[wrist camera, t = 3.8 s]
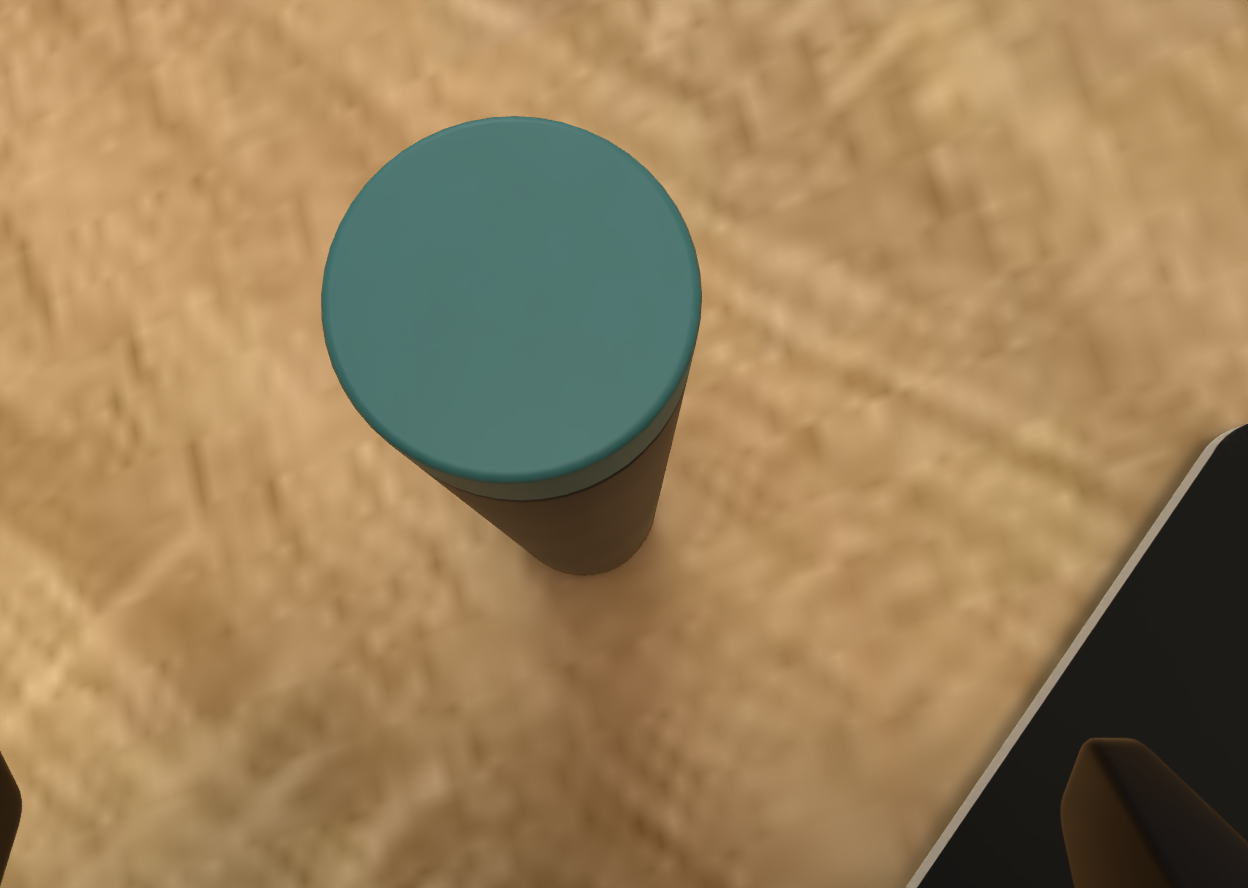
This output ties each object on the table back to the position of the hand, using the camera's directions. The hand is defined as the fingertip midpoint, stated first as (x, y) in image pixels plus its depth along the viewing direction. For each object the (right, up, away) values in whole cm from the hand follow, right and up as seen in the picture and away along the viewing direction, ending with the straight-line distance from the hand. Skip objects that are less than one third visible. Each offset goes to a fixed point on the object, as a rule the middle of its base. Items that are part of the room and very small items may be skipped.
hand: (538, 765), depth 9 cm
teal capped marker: (0, +2, +10) cm, 11 cm away
